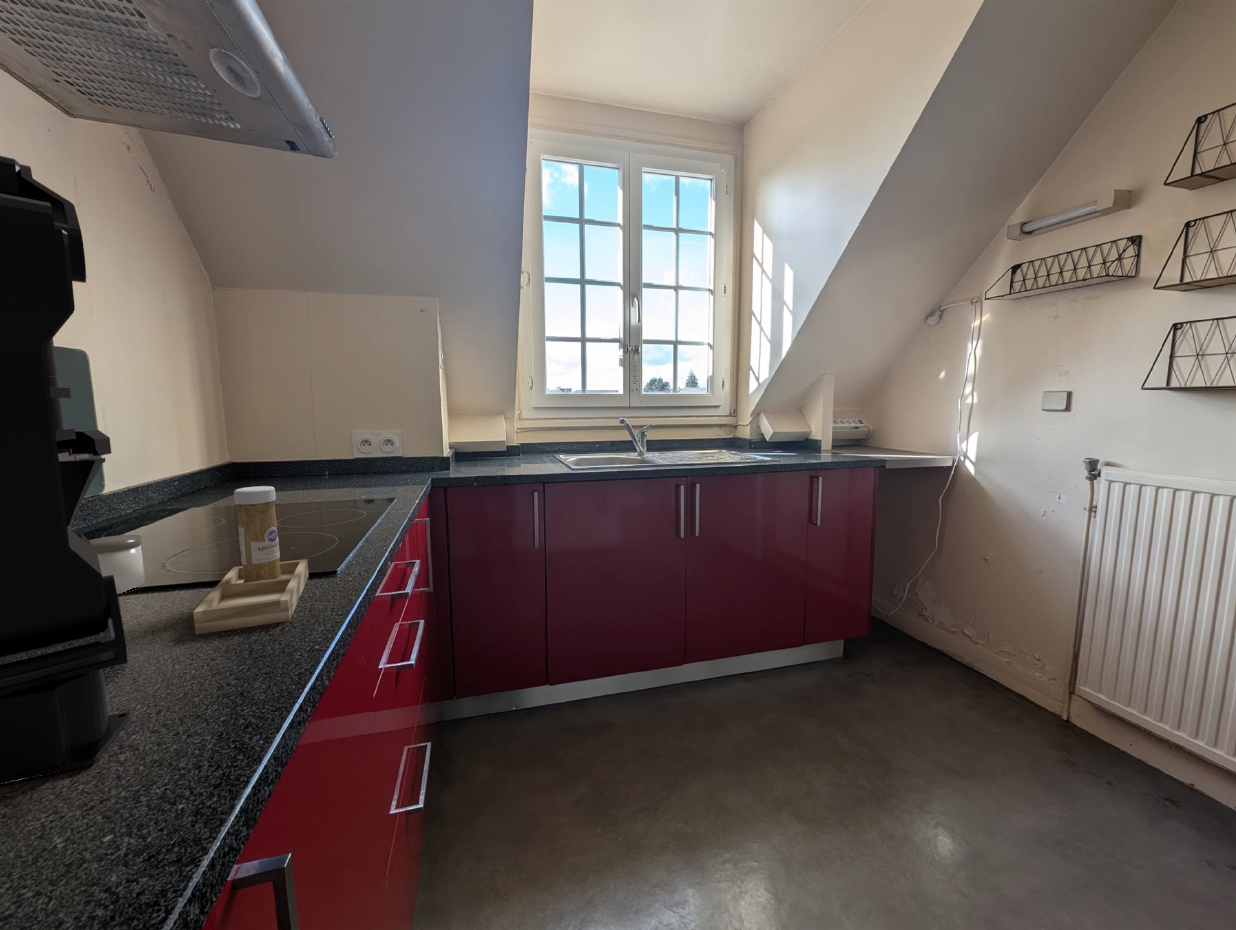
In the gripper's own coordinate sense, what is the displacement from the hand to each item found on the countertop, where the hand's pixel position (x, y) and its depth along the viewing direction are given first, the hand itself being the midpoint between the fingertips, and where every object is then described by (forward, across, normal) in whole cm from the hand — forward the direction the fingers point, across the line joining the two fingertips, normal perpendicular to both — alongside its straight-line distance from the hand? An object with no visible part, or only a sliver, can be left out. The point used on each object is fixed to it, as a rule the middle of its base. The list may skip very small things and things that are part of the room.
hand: (35, 537), depth 50 cm
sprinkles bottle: (+12, -15, +15) cm, 24 cm away
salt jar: (+13, -25, -4) cm, 28 cm away
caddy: (+13, -11, +15) cm, 23 cm away
